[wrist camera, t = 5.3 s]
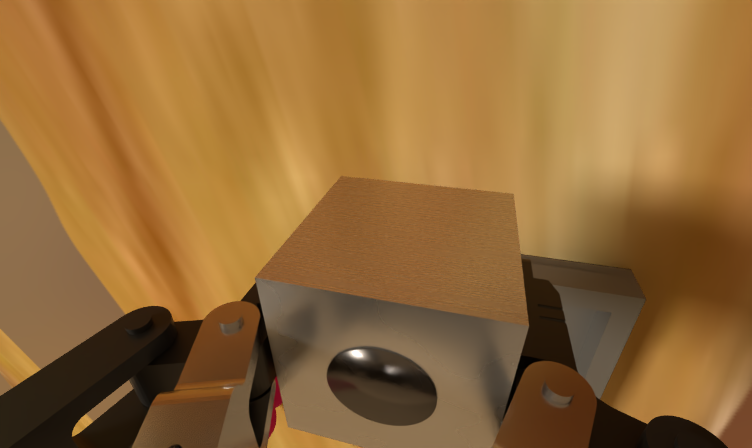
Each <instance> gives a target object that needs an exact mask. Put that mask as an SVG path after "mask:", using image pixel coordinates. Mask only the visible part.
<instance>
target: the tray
mask: <svg viewBox="0 0 752 448" xmlns="http://www.w3.org/2000/svg"><path fill="white" fill-rule="evenodd" d="M521 258H523V259H530V260H531V265H532V271H533V278H538V279H545V280H549V281H550V283H551V284H552V285H553V286H554V288H555V289H556V290H557V291H558V293H559V294H560V298H561V303H562V307H563V311H564V315H565V320H566V321H565V323H566V324H567V328H568V333H569V337H570V341H571V345H572V350H573V354H574V358H575V362H576V367H577V371H578V373H579V374H580V375H581V376H582V377H583V378H584V379H585V380H586V381H587V382H588V383H589V384H590V386H591V387H592V389H593V391H594V393H595V396H596V397H597V398H599V399H600V398H601V396H602V394H603V392H604V389H605V387H606V385H607V383H608V381H609V379H610V376H611V374H612V372H613V370H614V368H615V366H616V363H617V361H618V359H619V357H620V355H621V353H622V350H623V348H624V346H625V344H626V342H627V340H628V337H629V335H630V333H631V331H632V329H633V327H634V324H635V322H636V320H637V318H638V316H639V314H640V311H641V309H642V307H643V305H644V303H645V301H646V298H645V296H644V294H643V292H642V290H641V288H640V286H639V284H638V282H637V280H636V279H635V277H634V275H633V273H632V271H631V270H630V269H622V268H615V267H608V266H601V265H594V264H587V263H579V262H572V261H565V260H558V259H551V258H543V257H536V256H529V255H522V254H521ZM502 422H503V421H502ZM502 422H501V425H502ZM500 427H501V426H500Z"/></svg>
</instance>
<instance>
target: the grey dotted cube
mask: <svg viewBox="0 0 752 448" xmlns="http://www.w3.org/2000/svg"><path fill="white" fill-rule="evenodd" d="M255 280H256V285H257V289H258V294H259V298H260V303H261V307H262V312H263V316H264V321H265V325H266V330H267V334H268V339H269V343H270V348H271V352H272V357H273V361H274V366H275V370H276V375H277V379H278V384H279V388H280V393H281V397H282V402H283V406H284V411H285V415H286V420H287V424H288V427H290V428H294V429H297V430H301V431H305V432H308V433H312V434H316V435H320V436H323V437H327V438H331V439H334V440H338V441H342V442H345V443H349V444H353V445H356V446H360V447H364V448H491V447H492V445H493V443H494V441H495V439H496V436H497V434H498V432H499V429H500V426H501V422H502V419H503V415H504V412H505V408H506V405H507V401H508V398H509V394H510V391H511V387H512V384H513V380H514V377H515V373H516V370H517V366H518V363H519V359H520V356H521V352H522V349H523V345H524V342H525V339H526V335H527V332H528V328H529V321H528V313H527V304H526V296H525V287H524V279H523V270H522V262H521V253H520V245H519V236H518V228H517V219H516V211H515V202H514V194H510V193H500V192H490V191H481V190H471V189H461V188H452V187H442V186H432V185H423V184H413V183H403V182H393V181H384V180H374V179H364V178H355V177H345V176H341V177H340V178H339V179H338V181H337V182H336V183H335V184H334V185H333V186H332V188H331V189H330V190H329V191H328V192H327V193H326V195H325V196H324V197H323V198H322V199H321V201H320V202H319V203H318V204H317V205H316V206H315V208H314V209H313V210H312V211H311V212H310V213H309V215H308V216H307V217H306V218H305V219H304V220H303V222H302V223H301V224H300V225H299V226H298V228H297V229H296V230H295V231H294V232H293V233H292V235H291V236H290V237H289V238H288V239H287V240H286V242H285V243H284V244H283V245H282V246H281V248H280V249H279V250H278V251H277V252H276V253H275V255H274V256H273V257H272V258H271V259H270V260H269V262H268V263H267V264H266V265H265V266H264V267H263V269H262V270H261V271H260V272H259V273H258V275H257V276H256V277H255Z"/></svg>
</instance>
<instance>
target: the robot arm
mask: <svg viewBox="0 0 752 448" xmlns="http://www.w3.org/2000/svg"><path fill="white" fill-rule="evenodd" d="M521 262H522V270H523V279H524V287H525V296H526V304H527V313H528V321H529V328H528V332H527V335H526V339H525V342H524V345H523V349H522V352H521V356H520V359H519V363H518V366H517V370H516V373H515V377H514V380H513V384H512V387H511V391H510V394H509V398H508V401H507V405H506V408H505V412H504V415H503V419H502V421H503V422H502V425H501V427H500V429H499V432H498V434H497V436H496V439H495V441H494V443H493V445H492V447H491V448H728V447H727V446H726V445H725V444H724V443H723V442H722V441H721V440H720V439H718V438H717V437H716V436H715V435H713V434H712V433H711V432H709V431H708V430H706V429H705V428H703V427H701V426H699V425H698V424H696V423H693V422H691V421H689V420H686V419H683V418H680V417H676V416H659V417H656V418H654V419H652V420H651V421H650V422H649V423H648V424H646V423H644V422H642V421H639V420H637V419H635V418H633V417H631V416H629V415H627V414H625V413H622V412H620V411H618V410H616V409H614V408H612V407H610V406H609V405H607V404H606V403H604V402H603V401H601V400H600V399H599V398H597V397H596V396H595V393H594V391H593V389H592V387H591V386H590V384H589V383H588V382H587V381H586V380H585V379H584V378H583V377H582V376H581V375H580V374H579V373H578V371H577V367H576V362H575V358H574V354H573V350H572V345H571V341H570V337H569V333H568V328H567V324H566V323H565V321H566V320H565V315H564V311H563V307H562V303H561V298H560V294H559V293H558V291H557V290H556V289H555V288H554V286H553V285H552V284H551V283H550V281H549V280H545V279H538V278H533V271H532V265H531V260H530V259H523V258H521ZM276 376H277V375H276V370H275V366H274V361H273V357H272V352H271V348H270V343H269V339H268V334H267V330H266V325H265V321H264V316H263V312H262V307H261V303H260V298H259V294H258V289H257V285H256V283H255V284H254V285H253V287H252V288H251V289H250V290H249V291H248V293H247V294H246V295H245V296H244V297H243V299H242V300H241V301H236V302H230V303H227V304H224V305H221V306H219V307H217V308H216V309H214V310H213V311H211V312H210V313H209V314H208V315H207V316H206V317H205V319H204V320H195V321H181V322H174V321H173V318H172V316H171V313H170V311H169V310H168V309H166V308H164V307H160V306H148V307H143V308H140V309H137V310H134V311H132V312H130V313H128V314H126V315H124V316H123V317H121V318H119V319H118V320H116V321H115V322H113V323H112V324H110V325H109V326H107V327H106V328H104V329H103V330H101V331H100V332H98V333H96V334H95V335H93V336H92V337H90V338H89V339H87V340H86V341H84V342H83V343H81V344H80V345H78V346H76V347H75V348H73V349H72V350H71V351H69V352H67V353H66V354H64V355H63V356H61V357H60V358H58V359H57V360H55V361H53V362H52V363H50V364H49V365H47V366H46V367H44V368H43V369H41V370H40V371H38V372H37V373H35V374H33V375H32V376H30V377H29V378H27V379H26V380H24V381H23V382H21V383H20V384H18V385H17V386H15V387H14V388H12V389H11V390H9V391H7V392H6V393H4V394H3V395H1V396H0V448H267V444H268V437H269V431H270V424H271V417H272V411H273V404H274V397H275V391H276V382H275V378H276ZM128 380H129V381H130V383H131V385H132V387H133V388H134V389H133V390H132V391H130V392H129V393H128V394H127V395H126V396H125V397H123V398H122V399H121V400H119V401H118V402H117V403H116V404H115V405H114V406H112V407H111V408H110V409H108V410H107V411H106V412H105V413H104V414H102V415H101V416H100V417H99V418H97V419H96V420H95V421H94V422H93V423H91V424H90V425H89V426H88V427H86V428H85V429H84V430H83V431H82V432H80V433H79V434H77V435H75V436H73V437H72V431H73V428H74V426H75V425H76V423H77V422H78V421H79V420H80V419H81V417H83V416H84V415H85V414H86V413H87V412H89V411H90V410H91V409H92V408H94V407H95V406H96V405H98V404H99V403H100V402H101V401H103V399H105V398H106V397H107V396H109V395H110V394H111V393H112V392H114V391H115V390H116V389H118V388H119V387H120V386H122V384H124V383H125V382H126V381H128Z"/></svg>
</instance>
